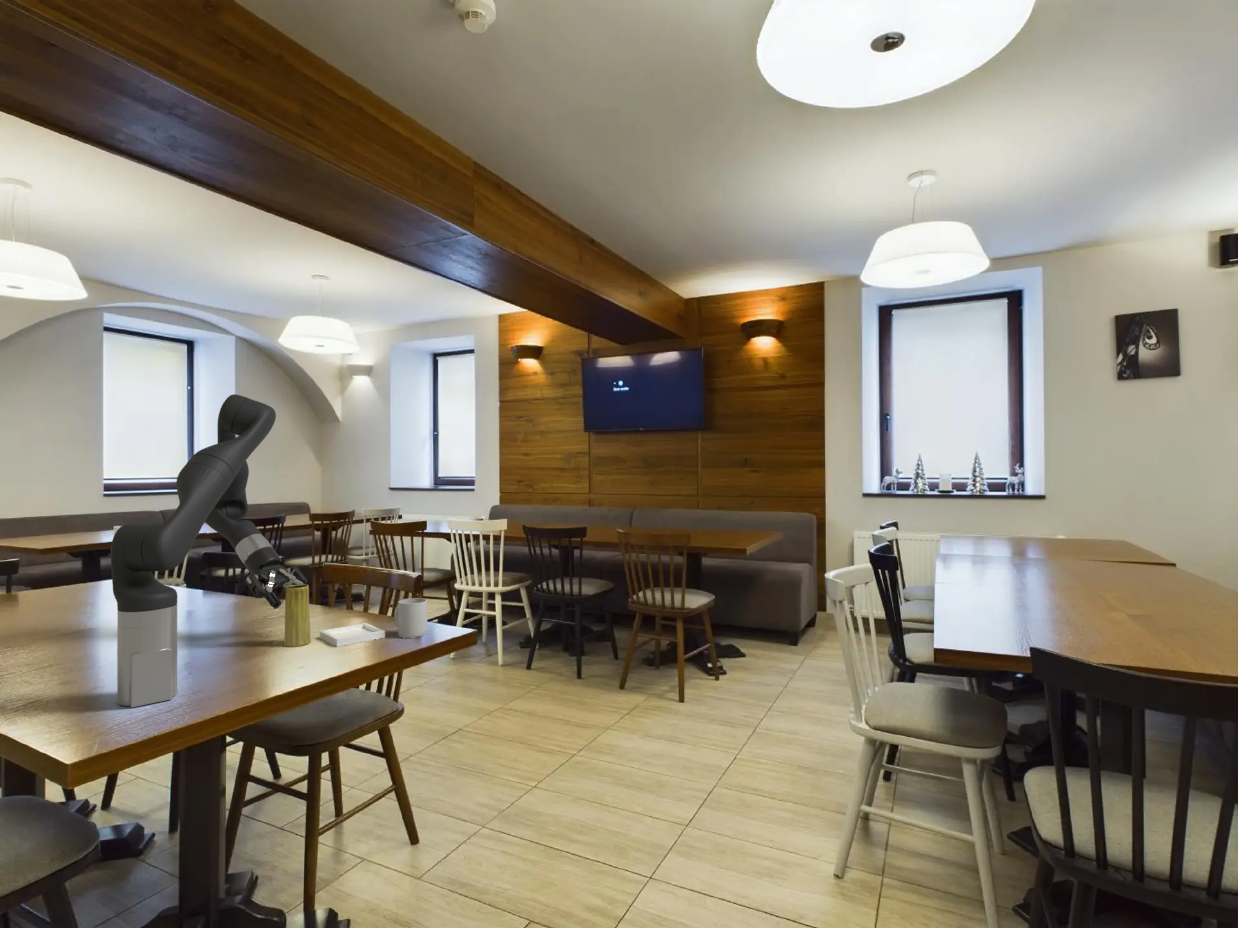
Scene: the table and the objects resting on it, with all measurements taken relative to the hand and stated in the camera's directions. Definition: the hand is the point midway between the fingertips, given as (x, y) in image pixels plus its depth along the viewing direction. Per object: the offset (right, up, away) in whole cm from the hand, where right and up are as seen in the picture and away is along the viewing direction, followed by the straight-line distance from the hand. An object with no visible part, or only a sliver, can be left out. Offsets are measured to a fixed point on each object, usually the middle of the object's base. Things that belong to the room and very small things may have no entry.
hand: (292, 602), depth 162 cm
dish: (+13, -10, +4) cm, 17 cm away
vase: (+2, -10, -2) cm, 10 cm away
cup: (+27, -10, +7) cm, 30 cm away
